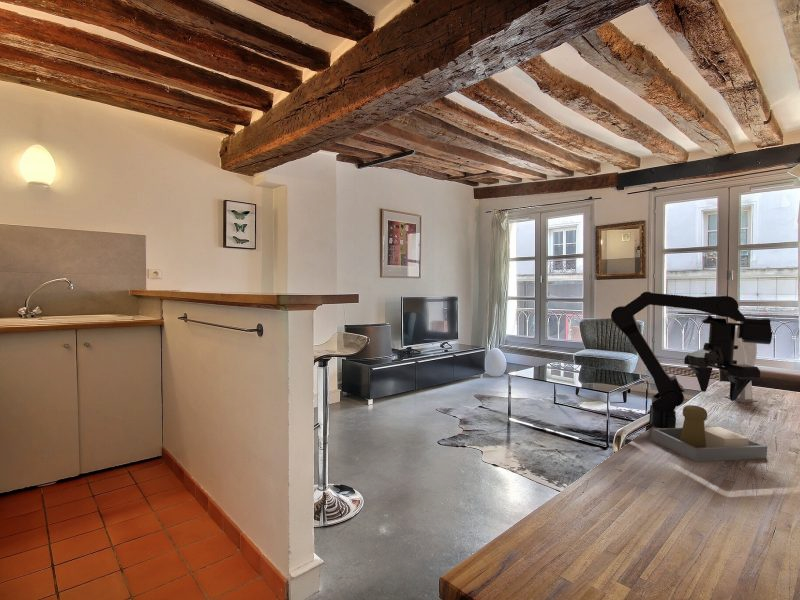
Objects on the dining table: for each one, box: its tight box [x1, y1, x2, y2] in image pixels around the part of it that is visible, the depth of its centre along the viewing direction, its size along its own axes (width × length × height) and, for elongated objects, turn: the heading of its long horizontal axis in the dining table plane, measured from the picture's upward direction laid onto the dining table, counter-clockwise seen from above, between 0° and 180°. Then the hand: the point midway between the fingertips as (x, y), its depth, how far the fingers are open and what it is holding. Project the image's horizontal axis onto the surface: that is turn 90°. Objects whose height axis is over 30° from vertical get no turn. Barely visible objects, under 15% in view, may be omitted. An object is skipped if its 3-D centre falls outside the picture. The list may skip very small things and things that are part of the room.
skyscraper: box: [724, 326, 758, 403], centre depth 164 cm, size 8×8×28 cm
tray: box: [650, 427, 768, 463], centre depth 110 cm, size 14×20×4 cm
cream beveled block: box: [705, 426, 750, 448], centre depth 110 cm, size 8×7×4 cm
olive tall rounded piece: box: [680, 404, 708, 448], centre depth 109 cm, size 6×6×11 cm
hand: (717, 396), depth 120 cm, fingers open, 9 cm apart
